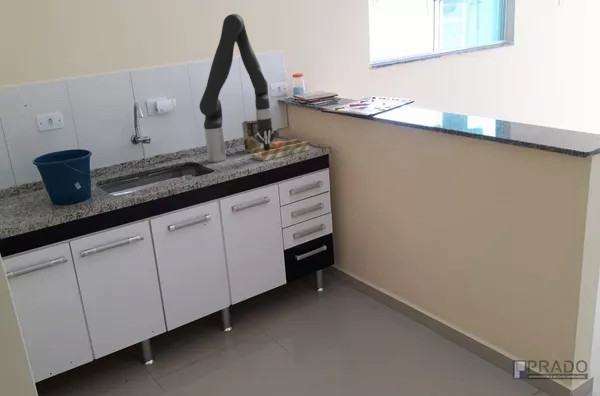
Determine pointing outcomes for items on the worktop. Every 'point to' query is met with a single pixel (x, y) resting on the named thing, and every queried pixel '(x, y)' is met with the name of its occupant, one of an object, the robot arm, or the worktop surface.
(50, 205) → the worktop surface
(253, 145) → the coffee box
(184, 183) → the worktop surface
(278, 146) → the block
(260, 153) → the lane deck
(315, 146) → the worktop surface
